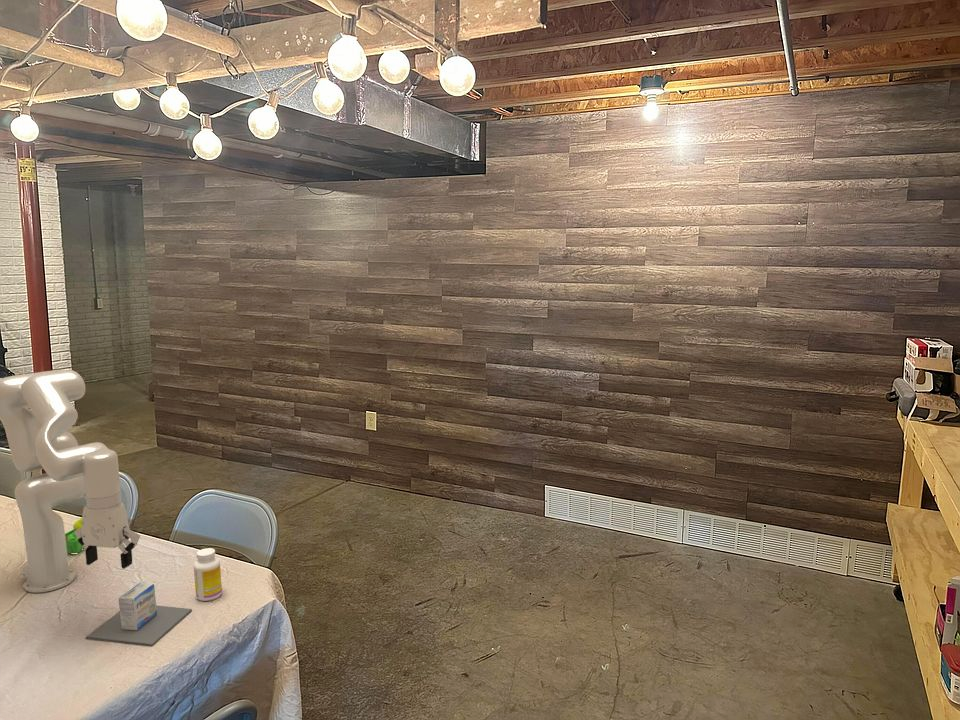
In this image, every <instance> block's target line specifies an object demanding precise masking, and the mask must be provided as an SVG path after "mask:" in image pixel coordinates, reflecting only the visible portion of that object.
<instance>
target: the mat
mask: <svg viewBox="0 0 960 720" xmlns="http://www.w3.org/2000/svg"><path fill="white" fill-rule="evenodd" d="M156 608H157V614H156V615H155V616H154V617H153V618H152V619H151V620H149V621H148V622H147V623H146V624H145V625H144V626H142V627H141V628H140V629H139V630H138V631H136V630H125V629H122V626H121V617H120V610H119V611H118V612H116V613H115V614H114V615H112V616H111V617H109V619H107V620H106V621H105V622H103V623H101V624H100V625H99V626H98V627H96V628H95V629H93V630H92V631H91V632H90V633H88V634H87V635H85V640H93V641H101V642H110V643H119V644H126V645H136V646H139V645H140V646H147V647H154V645H156V644H157V643H158V642H159V641H160V640H161V639H162V638H163V637H164V636H166V635H167V634H168V633H169V632H170V631H171V630H172V629H173V628H175V627H176V626H177V625H178V624H179V623H180V622H182V621H183V619H185V618H186V617H187V616H188V615H189V614H191V612H192V611H193V608H187V607H176V606H166V605H157V604H156Z"/></svg>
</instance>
